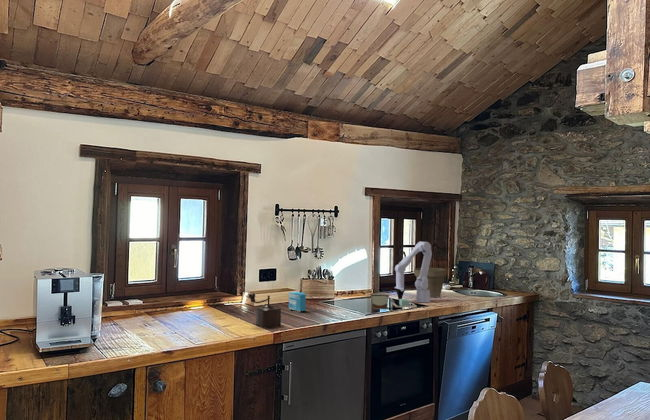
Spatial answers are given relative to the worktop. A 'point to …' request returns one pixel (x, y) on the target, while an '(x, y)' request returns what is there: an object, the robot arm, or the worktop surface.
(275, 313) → the manual coffee grinder
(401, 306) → the chute
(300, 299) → the light blue box
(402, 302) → the painted block
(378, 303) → the food container
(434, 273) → the plant pot
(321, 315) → the worktop surface
